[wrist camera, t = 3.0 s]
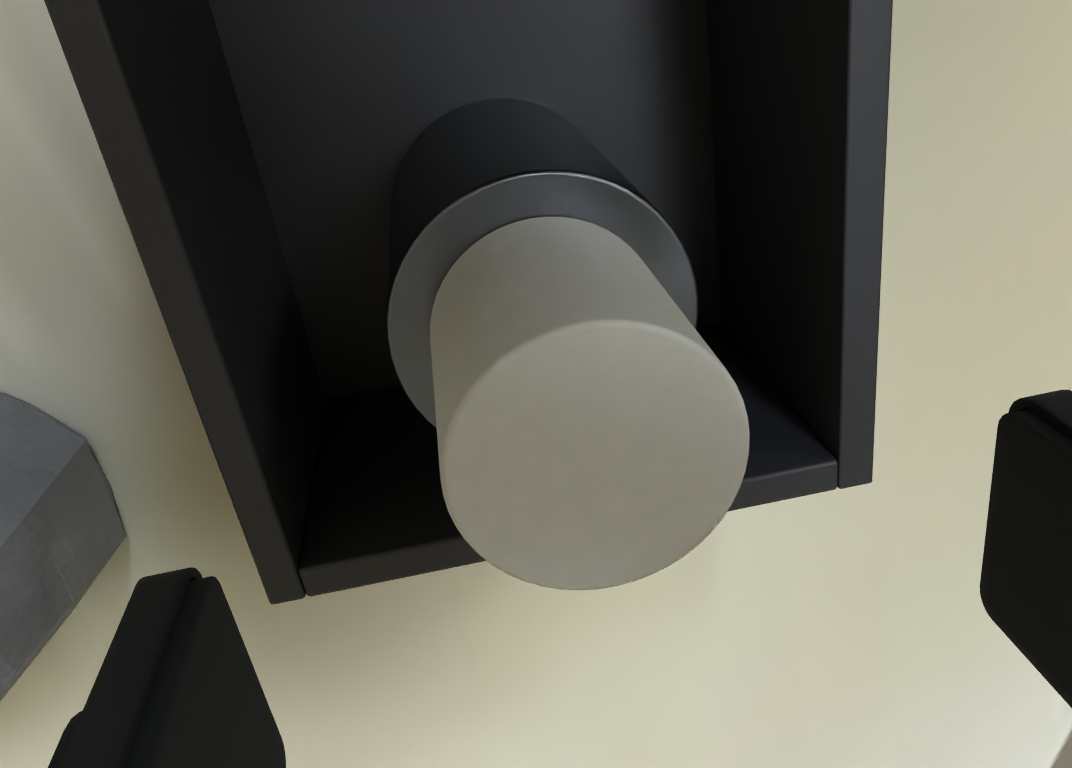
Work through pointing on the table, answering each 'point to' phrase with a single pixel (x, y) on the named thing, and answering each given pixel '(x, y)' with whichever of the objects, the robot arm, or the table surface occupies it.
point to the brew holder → (504, 214)
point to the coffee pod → (578, 409)
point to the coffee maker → (365, 212)
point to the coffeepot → (46, 530)
